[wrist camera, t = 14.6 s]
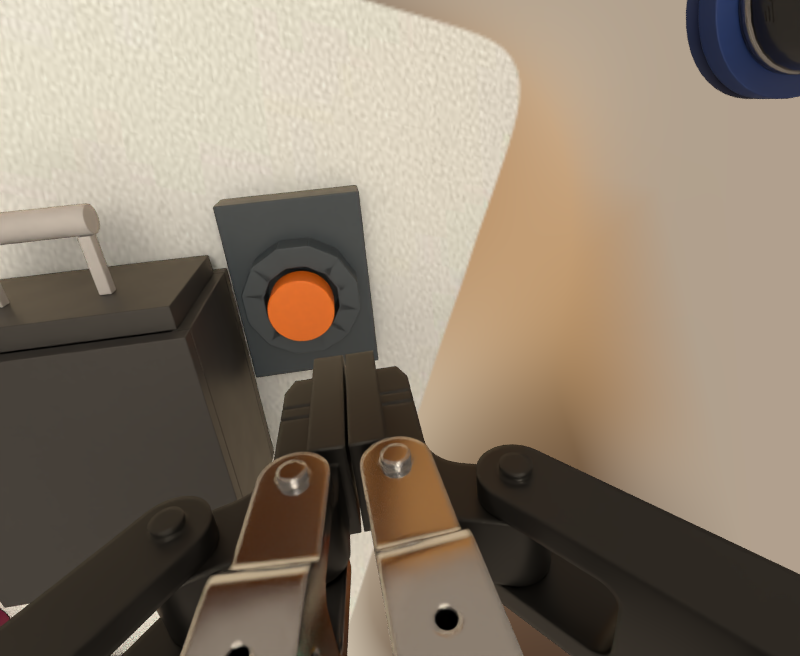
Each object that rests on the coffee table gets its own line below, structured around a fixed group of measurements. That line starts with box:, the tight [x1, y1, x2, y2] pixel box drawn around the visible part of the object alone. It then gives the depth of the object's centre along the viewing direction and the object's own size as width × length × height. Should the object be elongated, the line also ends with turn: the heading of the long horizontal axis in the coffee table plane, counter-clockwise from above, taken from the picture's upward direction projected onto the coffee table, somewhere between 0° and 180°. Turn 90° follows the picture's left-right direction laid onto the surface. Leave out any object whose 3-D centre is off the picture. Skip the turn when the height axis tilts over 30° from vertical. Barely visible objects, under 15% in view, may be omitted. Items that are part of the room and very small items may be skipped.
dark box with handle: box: [0, 203, 213, 354], centre depth 26 cm, size 18×12×8 cm
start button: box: [267, 271, 335, 341], centre depth 26 cm, size 4×4×2 cm
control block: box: [213, 185, 378, 377], centre depth 29 cm, size 11×8×4 cm
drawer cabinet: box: [0, 268, 274, 608], centre depth 28 cm, size 15×14×10 cm
